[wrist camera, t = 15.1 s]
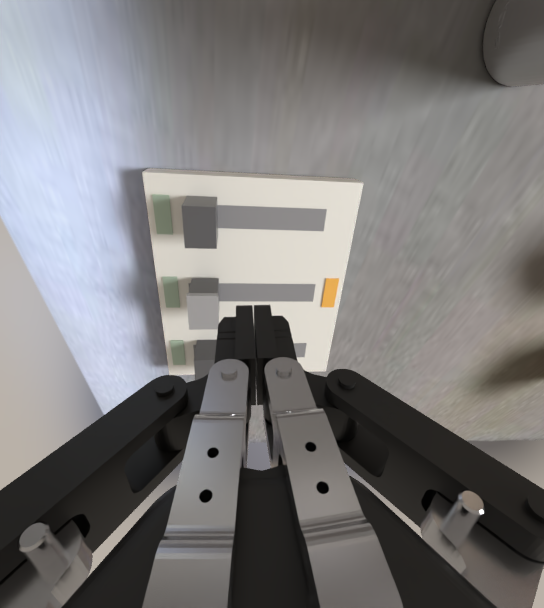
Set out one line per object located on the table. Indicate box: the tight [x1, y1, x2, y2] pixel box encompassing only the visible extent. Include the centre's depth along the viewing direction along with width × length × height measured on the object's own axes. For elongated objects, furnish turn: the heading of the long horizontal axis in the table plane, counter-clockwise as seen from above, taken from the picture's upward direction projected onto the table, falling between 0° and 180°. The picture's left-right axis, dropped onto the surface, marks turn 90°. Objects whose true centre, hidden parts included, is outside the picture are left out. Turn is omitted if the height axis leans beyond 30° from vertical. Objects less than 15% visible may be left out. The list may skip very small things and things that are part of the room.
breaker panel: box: [142, 168, 363, 380], centre depth 38 cm, size 22×26×6 cm
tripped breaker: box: [186, 278, 219, 330], centre depth 36 cm, size 3×4×4 cm
